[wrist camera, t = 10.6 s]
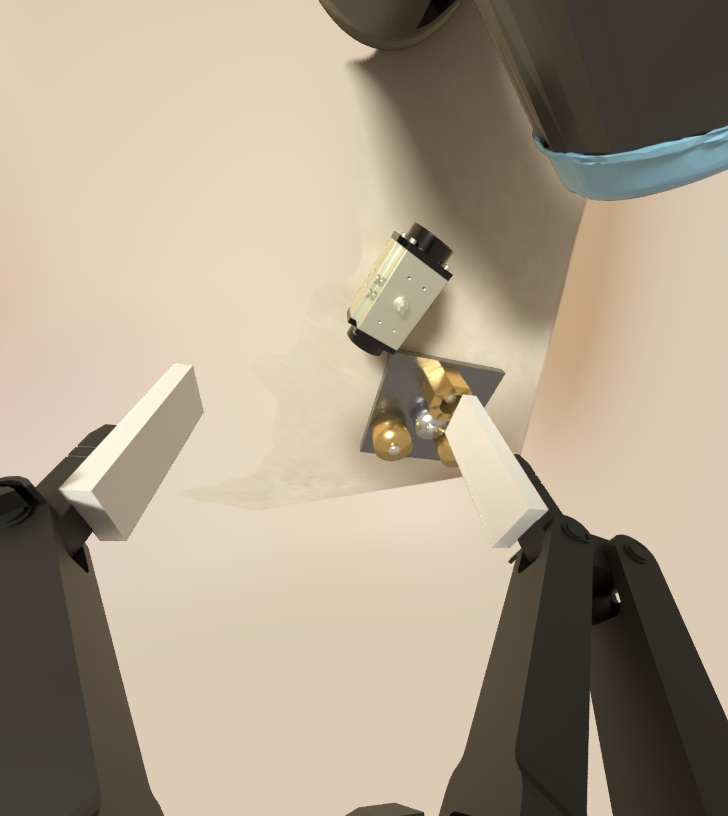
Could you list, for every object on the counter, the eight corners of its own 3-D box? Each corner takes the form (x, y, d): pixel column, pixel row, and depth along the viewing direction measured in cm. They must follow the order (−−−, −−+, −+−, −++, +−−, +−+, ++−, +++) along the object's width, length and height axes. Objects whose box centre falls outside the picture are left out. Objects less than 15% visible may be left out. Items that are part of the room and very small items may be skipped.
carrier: (391, 348, 40) (400, 373, 34) (501, 369, 44) (525, 395, 38) (359, 446, 52) (362, 477, 46) (449, 456, 55) (461, 486, 50)
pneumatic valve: (430, 240, 32) (470, 261, 23) (374, 326, 38) (387, 371, 28) (391, 209, 30) (417, 218, 21) (337, 305, 36) (339, 346, 26)
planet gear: (430, 364, 41) (440, 383, 37) (467, 371, 42) (481, 390, 38) (416, 398, 44) (424, 418, 40) (451, 403, 45) (462, 423, 41)
